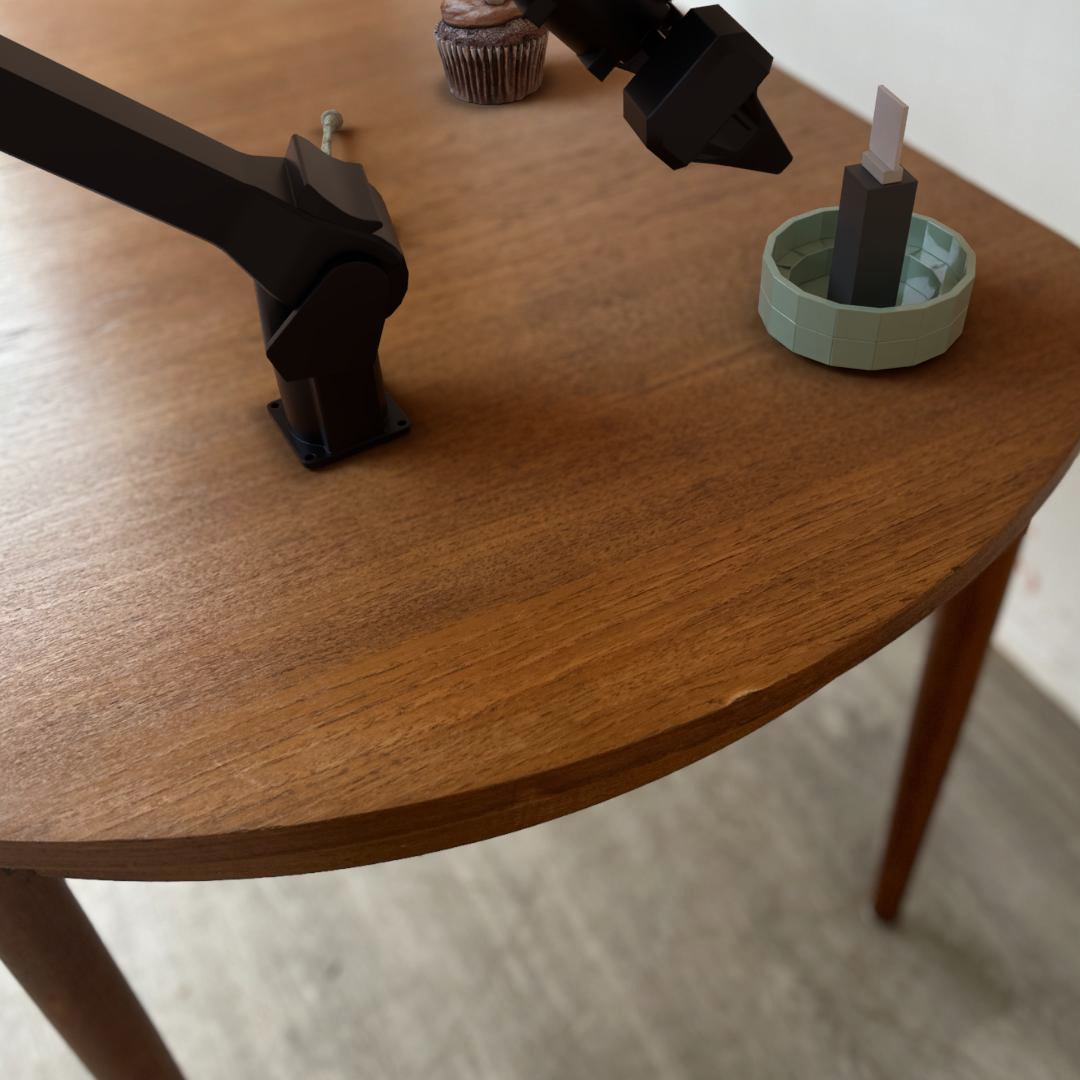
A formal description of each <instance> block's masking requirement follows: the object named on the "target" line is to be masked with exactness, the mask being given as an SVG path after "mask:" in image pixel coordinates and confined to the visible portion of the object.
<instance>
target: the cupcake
mask: <svg viewBox="0 0 1080 1080" xmlns="http://www.w3.org/2000/svg"><path fill="white" fill-rule="evenodd" d="M439 8H440V15H441V18H440V19H439V20H438V22H436V25H434V28H433V32H432V35H433V38H434V41H435V44H436V47H437V50H438V53H439V57H440V59H441V63H442V68H443V71H444V75H445V79H446V82H447V85H448V88H449V90H450V93H451V94H452V95H454V96H455V98H457V99H459V100H461V101H462V102H463V101H464V102H467V103H474V104H480V105H501V104H505V103H507V104H508V103H513V102H516V101H522V100H523V99H524V98H525V97H527V96H529V95H531V94H533V93H535V92H537V90H538V89H539V88H540V87H541V86H542V83H543V76H544V70H545V69H544V68H545V62H546V61H545V60H546V53H547V48H548V43H549V35H550V31H549V30H548V29H547V28H545V27H544V26H543V25H542V26H541V27H540V29H539V28H537V27H536V26H535V25H534V24H533V23H532V22H530V21H529V20H528V19H527V18H526V17H525V16H523V14H522V13H521V12H520V10H519V9H518V7H517V6H516V4H515V3H514V2H513V0H442V2H441V3H440V6H439Z"/></svg>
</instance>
